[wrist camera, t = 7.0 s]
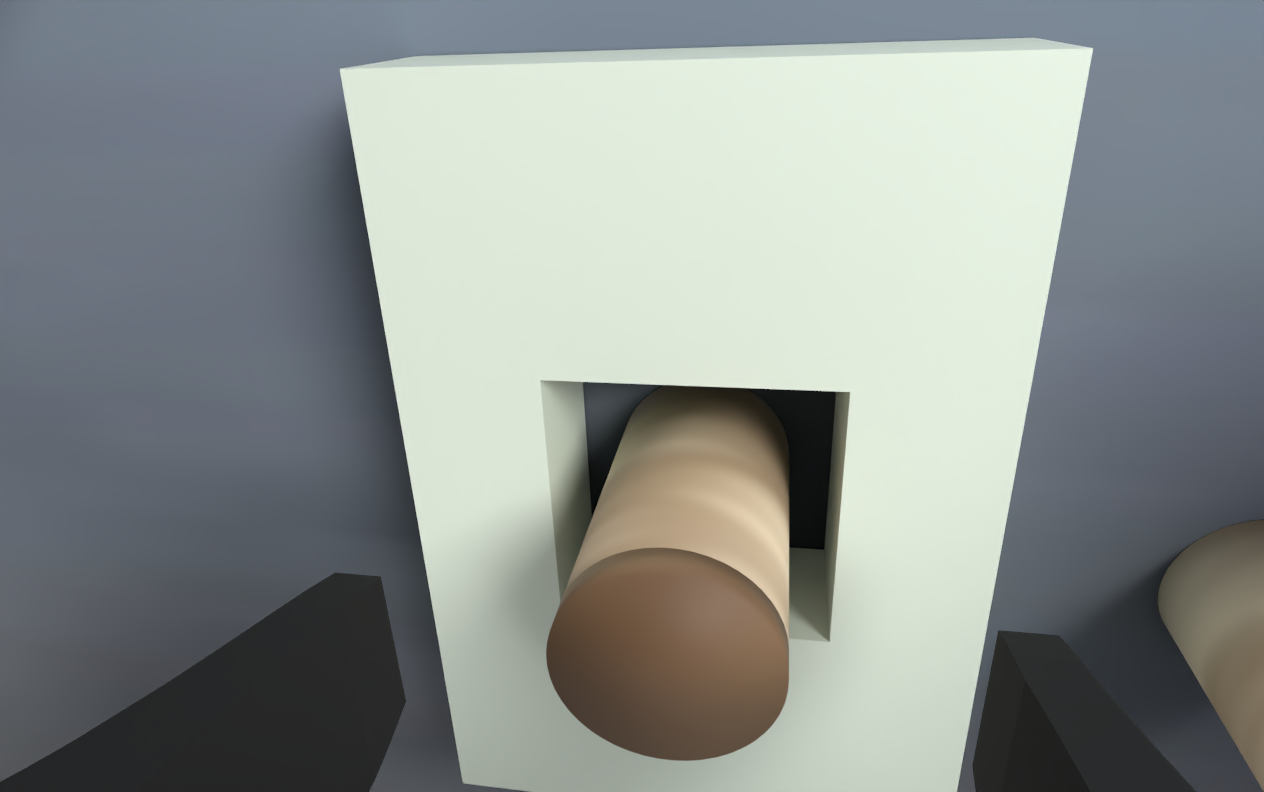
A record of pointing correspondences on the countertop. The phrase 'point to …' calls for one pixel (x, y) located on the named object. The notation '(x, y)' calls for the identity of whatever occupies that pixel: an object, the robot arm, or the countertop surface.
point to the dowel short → (1223, 627)
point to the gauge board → (720, 356)
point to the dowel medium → (682, 581)
